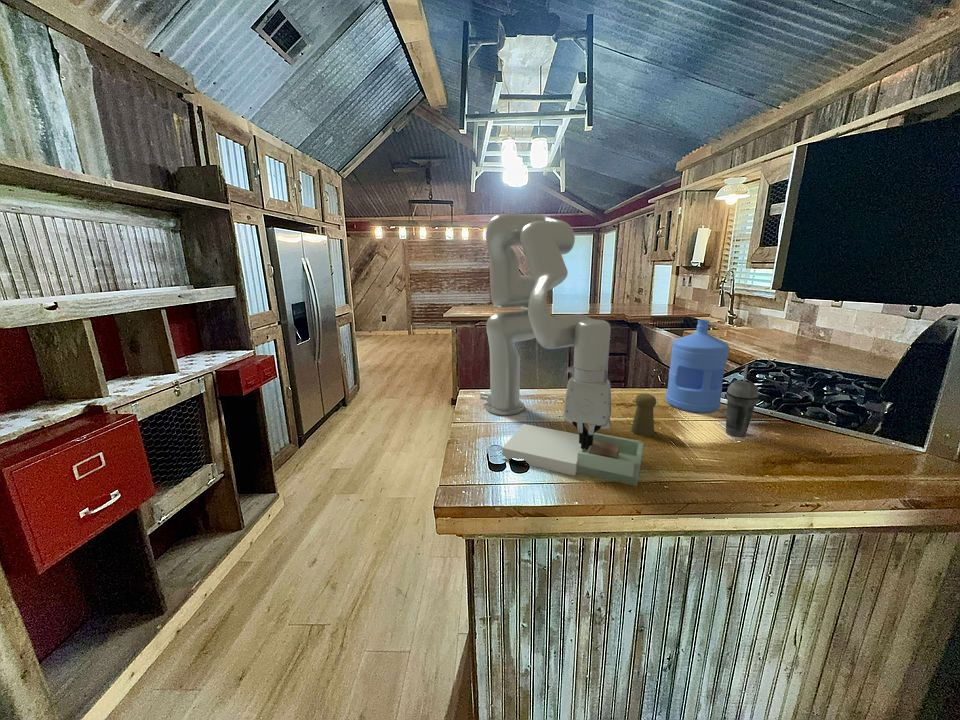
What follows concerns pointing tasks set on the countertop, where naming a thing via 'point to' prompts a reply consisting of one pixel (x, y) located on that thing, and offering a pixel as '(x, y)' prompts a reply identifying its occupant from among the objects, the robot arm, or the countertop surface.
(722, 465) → the countertop surface
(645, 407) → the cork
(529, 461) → the white flat slab
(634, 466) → the box
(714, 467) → the countertop surface
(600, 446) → the walnut tile
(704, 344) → the water jug
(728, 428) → the beverage cup
